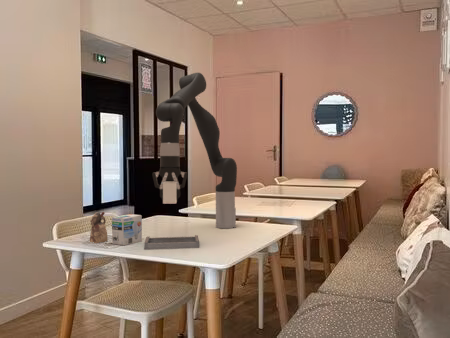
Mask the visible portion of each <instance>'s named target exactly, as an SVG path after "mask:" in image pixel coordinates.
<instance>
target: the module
mask: <svg viewBox="0 0 450 338" xmlns="http://www.w3.org/2000/svg"><path fill="white" fill-rule="evenodd" d="M176 191H177V187H176V182H174V181H165V182H163V199H162V204H164V205H165V204H170V205H171V204H177V202H178V199H176Z"/></svg>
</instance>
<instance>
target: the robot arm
mask: <svg viewBox="0 0 450 338" xmlns="http://www.w3.org/2000/svg"><path fill="white" fill-rule="evenodd" d="M178 80H179V81H178V85H179V88H180V89H179V90H177V91H176V92H175V93H174V94H172V96H171V97H170V98H167V99H165V100H164V101H161V103H159V104H158V105H157V107H156V109H155V116H156V118H157V119H158V121H160V122H162V123H163V122H164V123H167V122H170V123H171V124H170V126H168V127H163V128H161V130H160V148H159V160H160V162H159V163H160V164H159V165H160V166H159V167H160V168H159V170H158V171H156V172H152V179H153V183H154V187H155V188H156V189H159V197H160V198H161V200H163V182H165V181H174V182H176V187H177V191H176V199H177V200H179V198H181V190H182V189H184V188H185V186H186V182H187V178H188V172H187V171H185V172H184V171H181V169H180V167H181V165H180V164H181V163H180V161H181V159H180V158H181V151H180V150H181V149H180V131H181V127H182V123H183V119H184V115H185V113H184V112H185V109H186V108H187V106H188V108H189V109H190V112H191V114H192V117H193V119H194V123H195V126H196V128H197V130H198V133H199V135H200V137H201V140H202V143H203V145H204V148H205V151H206V154H207V157H208V160H209V164H210V167H211V171H212V173H213V174H214V175H215V176H216V177H219V178H221V181H220V182H219V184H217V185H215V228H218V229H232V228H233V227H234V228H236V227H237V224H236V221H237V215H236V212H237V211H236V208H237V207H236V199H235V198H236V193H235V192H236V185H237V179H238V177H237V173H238V167H237V163H236V160H235V159H234V158H231V157H223V156H222V154H221V151H220V148H219V146H220V145H219V143H220V136H221V135H220V133H221V132H220V128H219V125H218V122H217V121H216V117H214V115H213V114H211V112H209V111H208V110H207V109H206V108H204V107H203V106H202V105H201V104H200V103H199V102H198V101H197V97H198V96H199V95H200V94H202V93H204V92H205V91H206V89H207V80H206V78H205V76H204V75H203V73H201V72H193V73H190V74H188V75H185V76H182V77H180V78H179V79H178ZM159 175H160V177H161V178H162V180H161V183H160V184H159V182H158V177H159ZM180 175H181V177H182V178H183V179H182V182H181V184H180V183H179V179H178V178H179V177H180Z"/></svg>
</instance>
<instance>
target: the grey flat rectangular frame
mask: <svg viewBox="0 0 450 338" xmlns="http://www.w3.org/2000/svg"><path fill="white" fill-rule="evenodd" d="M143 246H144V250H164V249H165V250H169V249H195V248H196V249H199V248H200V238H199V235H198V234H195V235H193V236H167V237H165V236H164V237H150V236H146V237H145V240H144V242H143Z"/></svg>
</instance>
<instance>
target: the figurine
mask: <svg viewBox="0 0 450 338" xmlns="http://www.w3.org/2000/svg"><path fill="white" fill-rule="evenodd" d="M105 214H106V212H104V211H102V212H101V213H100V212H99V211H98V212H95V213H94V214H93V215H92V217H91V220H90V221H89V222H90V226H91V229H90V236H89V241H90V242H94V243H93V244H100V243H99V242H103V243H106V242H107V241H108V238H109V237H108V231H107V227H106V225H105V224H106V220H107V219H106V217H104V215H105ZM102 220H103V222H102ZM105 241H106V242H105ZM90 242H89V243H90Z"/></svg>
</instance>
